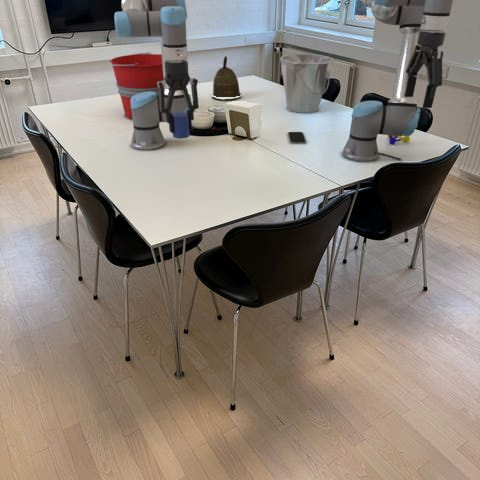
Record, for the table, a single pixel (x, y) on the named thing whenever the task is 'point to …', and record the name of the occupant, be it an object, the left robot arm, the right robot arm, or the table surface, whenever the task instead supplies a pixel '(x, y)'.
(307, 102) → the bucket
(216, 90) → the bell
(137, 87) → the bucket
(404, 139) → the educational toy
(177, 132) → the can
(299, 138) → the smartphone
